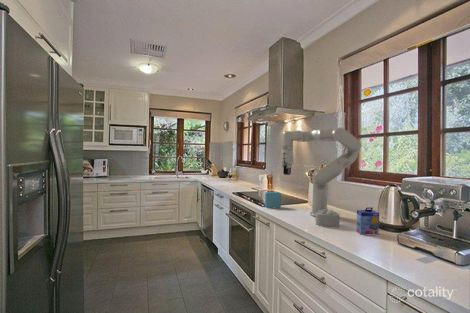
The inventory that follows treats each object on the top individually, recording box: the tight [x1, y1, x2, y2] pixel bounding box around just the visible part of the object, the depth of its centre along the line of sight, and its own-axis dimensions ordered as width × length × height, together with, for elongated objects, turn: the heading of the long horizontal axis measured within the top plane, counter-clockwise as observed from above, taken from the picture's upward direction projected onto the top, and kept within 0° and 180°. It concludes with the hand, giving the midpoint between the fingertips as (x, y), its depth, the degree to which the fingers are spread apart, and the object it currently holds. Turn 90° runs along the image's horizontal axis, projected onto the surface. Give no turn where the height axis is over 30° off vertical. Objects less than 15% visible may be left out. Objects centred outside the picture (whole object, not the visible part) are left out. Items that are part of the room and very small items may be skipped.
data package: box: [264, 191, 282, 209], centre depth 189 cm, size 12×4×12 cm, turn 94°
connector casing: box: [283, 165, 291, 176], centre depth 172 cm, size 4×4×7 cm
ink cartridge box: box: [355, 207, 380, 235], centre depth 129 cm, size 10×6×14 cm, turn 91°
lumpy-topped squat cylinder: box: [315, 209, 341, 228], centre depth 144 cm, size 10×13×9 cm
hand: (287, 173), depth 172 cm, fingers closed on connector casing, 4 cm apart
